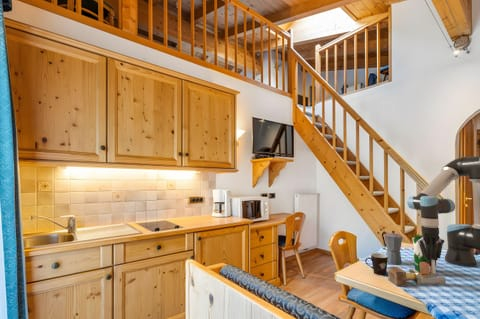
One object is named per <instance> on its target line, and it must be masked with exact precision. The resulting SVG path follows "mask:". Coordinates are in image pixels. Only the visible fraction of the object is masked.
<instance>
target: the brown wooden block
mask: <svg viewBox="0 0 480 319" xmlns="http://www.w3.org/2000/svg"><path fill="white" fill-rule="evenodd" d="M406 273H407V271H406V270H404V269H402V268H401V267H399V266H387V274H388V281H389V282H390V283H392V284H394V285H395V286H396V287H407V286H408V285H407V281H406Z"/></svg>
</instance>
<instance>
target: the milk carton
mask: <svg viewBox="0 0 480 319" xmlns="http://www.w3.org/2000/svg"><path fill="white" fill-rule="evenodd" d="M421 238H422V235H418V234H415V235H414V237H412V246H413V259H414V260H413V262H414V270H416V271H417V272H419V273H421V272H420V262H426V263H427V259H426V258H424V257H423V255H422V252H421V248H420V245H419V243H418V241H417V240H418V239H421ZM424 244H425V242H424ZM425 248H426V245H425ZM430 273H431V272H430Z"/></svg>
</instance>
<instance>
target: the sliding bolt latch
mask: <svg viewBox="0 0 480 319" xmlns="http://www.w3.org/2000/svg"><path fill="white" fill-rule="evenodd" d="M408 271H409V272H408V273H415V274H416V279H417V280H411V281H410V282H412V283H414V284H415V283H416V285H417V286H437V285H439V286H441V285H445V286H446V284H447V283H446V280H447V279H446V277H445V276H438V273H437V272H436V273H430V274H429V275H430V277H421V275H420V273H419V272H418V271H417V270H415V268H409V270H408Z"/></svg>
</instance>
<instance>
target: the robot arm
mask: <svg viewBox="0 0 480 319" xmlns="http://www.w3.org/2000/svg"><path fill="white" fill-rule="evenodd" d="M460 177H468V180H469V181H470V182H471V184H472V197H473V199H472V200H473V201H472V202H473V218H474V219H473V220H474V223H473V224H472V225H470V224H465V223H464V224H463V223H461V224H459V223H456V224H455V223H454V224H448V225H447V226H446V237H447V249H446V253H445V256H444V261H445V262H447V263H449V264H451V265H456V266H460V267H477V263H478V261H477V259H476V257H475V255H474V252H473V249H474V250H477V251H478V250H479V251H480V156H462V157H458V158H455V159H453V160H451V161H449V162H447V163H446V164H445V165H444V166H443V167H442V168H441V169H440V172H439V174H438V175H437V176H436V177H434V179H433V180H431V181H430V182H429V183H428V185H427V186H425V187H424V188H423V189H422V190H421V191H420V192H419V193H418V194H417V195H416V196H415V195H414V196H413V195H412V196H409V197H408V198H407V201H406V204H407V206H408V208H409V209H411V210H416V211H420V220H421V221H420V223H421V233H422V235H421V236H422V238H421V239H418V240H417V241H418V243H419V245H420V248H421V252H422V255H423V257H424V258H426V259H427V263H428V264H429V269H430V272H431V273H437V272H436V267H437V261H438V259H441V255H442V250H443V245H444V243H445V239H442V238H440V227H439V225H440V222H439V215H440V214H450V213H453V212H454V211H455V210H456V204H455V202H454V201H453V200H452V199H450V198H438V196H439V195H440V194H441V193H442V192H443V191H445V189H446V188H447V187H448V186H449V185H451V183H452V182H453V181H457V179H459V178H460ZM424 242H425V244H424ZM425 245H426V248H425Z"/></svg>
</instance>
